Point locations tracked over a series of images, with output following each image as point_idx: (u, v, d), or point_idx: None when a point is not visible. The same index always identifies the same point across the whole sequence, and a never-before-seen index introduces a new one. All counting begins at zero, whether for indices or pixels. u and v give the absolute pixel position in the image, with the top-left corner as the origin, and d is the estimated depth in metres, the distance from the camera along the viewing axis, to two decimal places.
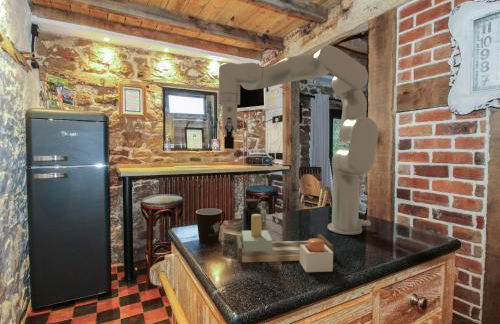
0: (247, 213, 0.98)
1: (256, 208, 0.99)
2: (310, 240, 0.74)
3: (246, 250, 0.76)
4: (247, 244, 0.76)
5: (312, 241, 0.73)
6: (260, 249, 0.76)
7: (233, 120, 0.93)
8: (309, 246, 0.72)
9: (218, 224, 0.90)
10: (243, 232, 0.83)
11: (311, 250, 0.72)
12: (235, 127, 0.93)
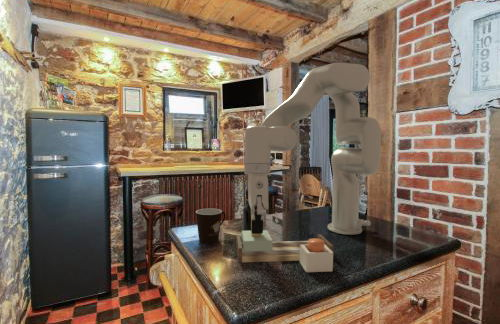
0: (247, 213, 0.98)
1: None
2: (310, 240, 0.74)
3: (246, 250, 0.76)
4: (247, 244, 0.76)
5: (312, 241, 0.73)
6: (260, 249, 0.76)
7: (264, 198, 0.75)
8: (309, 246, 0.72)
9: (218, 224, 0.90)
10: (243, 232, 0.83)
11: (311, 250, 0.72)
12: (266, 206, 0.75)
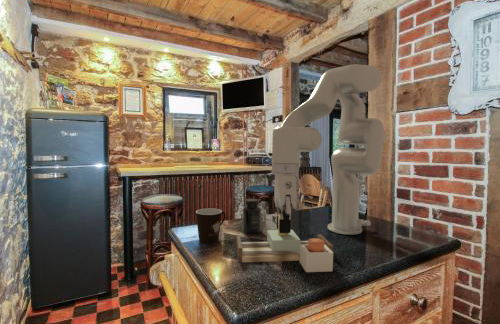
0: (247, 213, 0.98)
1: (256, 208, 0.99)
2: (310, 240, 0.74)
3: (275, 249, 0.77)
4: (275, 243, 0.77)
5: (312, 241, 0.73)
6: (288, 248, 0.77)
7: (293, 197, 0.76)
8: (309, 246, 0.72)
9: (218, 224, 0.90)
10: (269, 231, 0.84)
11: (311, 250, 0.72)
12: (295, 206, 0.76)
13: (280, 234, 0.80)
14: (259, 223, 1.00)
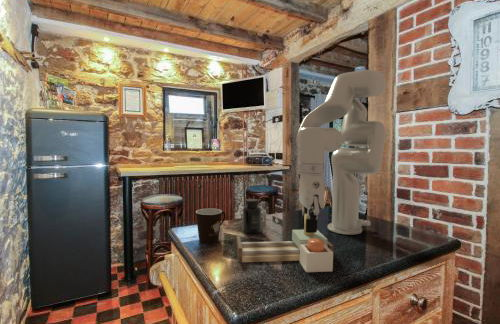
0: (247, 213, 0.98)
1: (256, 208, 0.99)
2: (310, 240, 0.74)
3: None
4: (303, 242, 0.78)
5: (312, 241, 0.73)
6: None
7: (320, 197, 0.77)
8: (309, 246, 0.72)
9: (218, 224, 0.90)
10: (294, 231, 0.85)
11: (311, 250, 0.72)
12: (322, 205, 0.77)
13: (306, 233, 0.81)
14: (259, 223, 1.00)
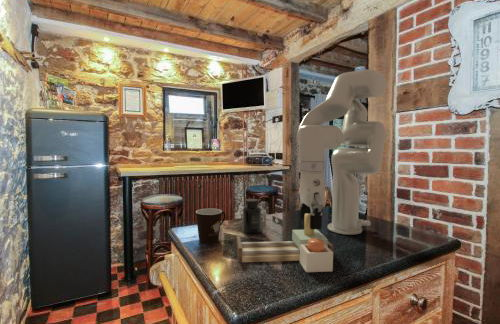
0: (247, 213, 0.98)
1: (256, 208, 0.99)
2: (310, 240, 0.74)
3: None
4: (303, 242, 0.78)
5: (312, 241, 0.73)
6: None
7: (321, 195, 0.77)
8: (309, 246, 0.72)
9: (218, 224, 0.90)
10: (295, 231, 0.85)
11: (311, 250, 0.72)
12: (323, 203, 0.77)
13: (306, 233, 0.81)
14: (259, 223, 1.00)
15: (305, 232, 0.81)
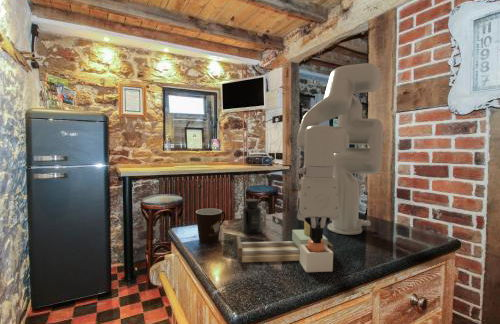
0: (247, 213, 0.98)
1: (256, 208, 0.99)
2: (310, 240, 0.74)
3: None
4: (303, 242, 0.78)
5: (312, 241, 0.73)
6: None
7: (300, 202, 0.70)
8: (309, 246, 0.72)
9: (218, 224, 0.90)
10: (295, 231, 0.85)
11: (311, 250, 0.72)
12: (301, 211, 0.70)
13: (306, 233, 0.81)
14: (259, 223, 1.00)
15: (305, 232, 0.81)
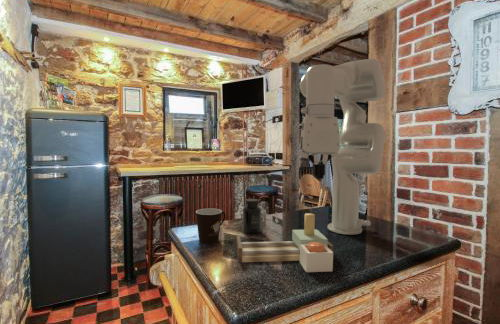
0: (247, 213, 0.98)
1: (256, 208, 0.99)
2: (310, 244, 0.74)
3: None
4: (303, 242, 0.78)
5: (312, 245, 0.73)
6: None
7: (303, 140, 0.74)
8: (309, 250, 0.73)
9: (218, 224, 0.90)
10: (295, 231, 0.85)
11: None
12: (304, 148, 0.74)
13: (306, 233, 0.81)
14: (259, 223, 1.00)
15: (305, 232, 0.81)
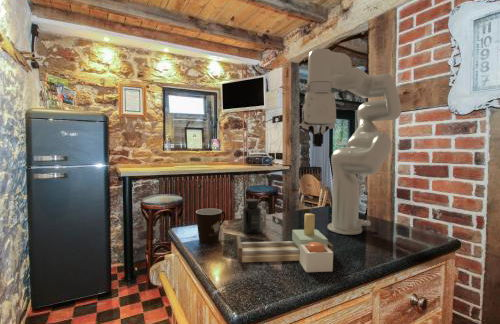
0: (247, 213, 0.98)
1: (256, 208, 0.99)
2: (310, 244, 0.74)
3: None
4: (303, 242, 0.78)
5: (312, 245, 0.73)
6: None
7: (304, 112, 0.87)
8: (309, 250, 0.73)
9: (218, 224, 0.90)
10: (295, 231, 0.85)
11: None
12: (305, 119, 0.87)
13: (306, 233, 0.81)
14: (259, 223, 1.00)
15: (305, 232, 0.81)
